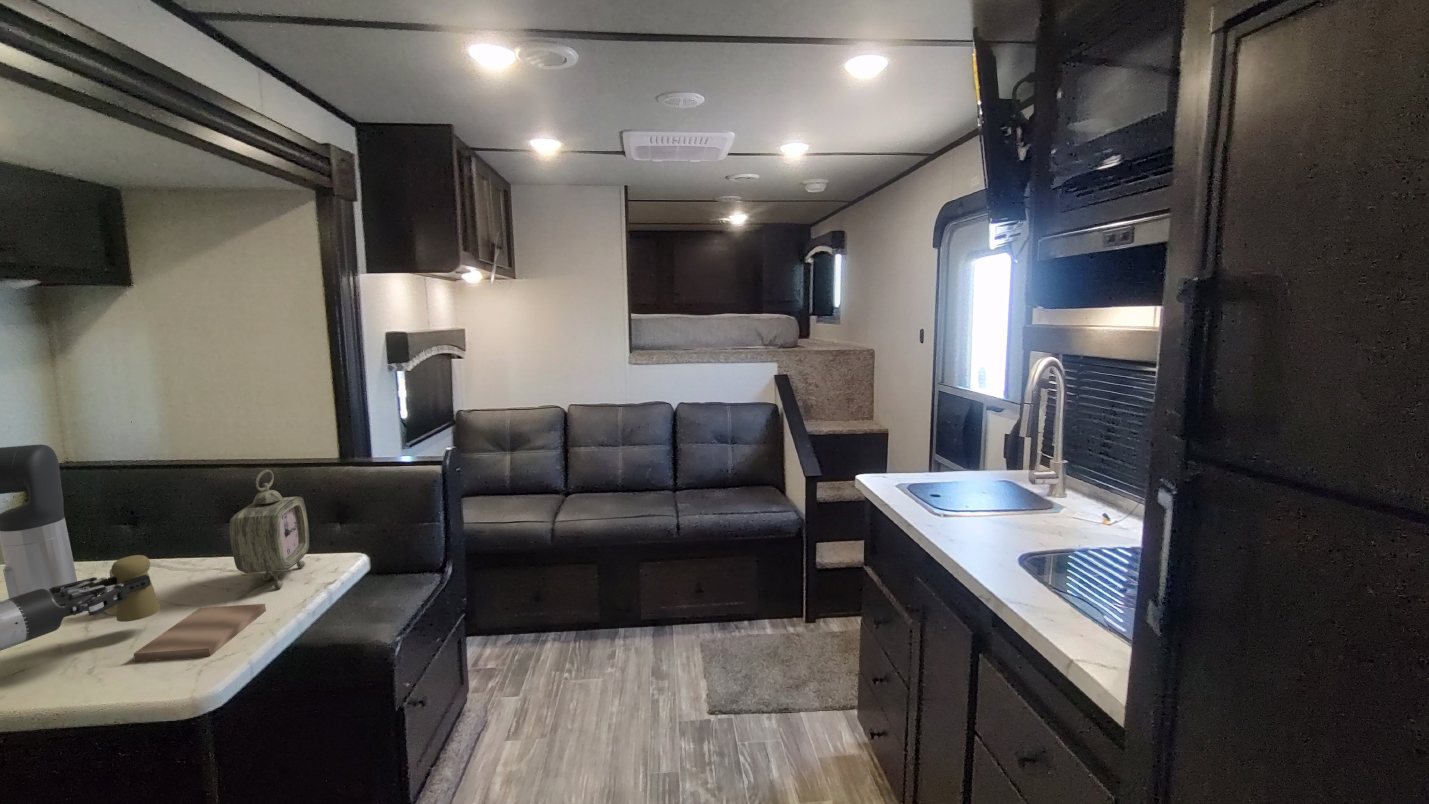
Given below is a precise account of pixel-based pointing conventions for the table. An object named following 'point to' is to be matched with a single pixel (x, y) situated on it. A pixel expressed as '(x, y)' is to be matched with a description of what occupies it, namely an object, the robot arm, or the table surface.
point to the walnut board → (201, 632)
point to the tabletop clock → (270, 533)
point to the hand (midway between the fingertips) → (141, 577)
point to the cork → (137, 601)
